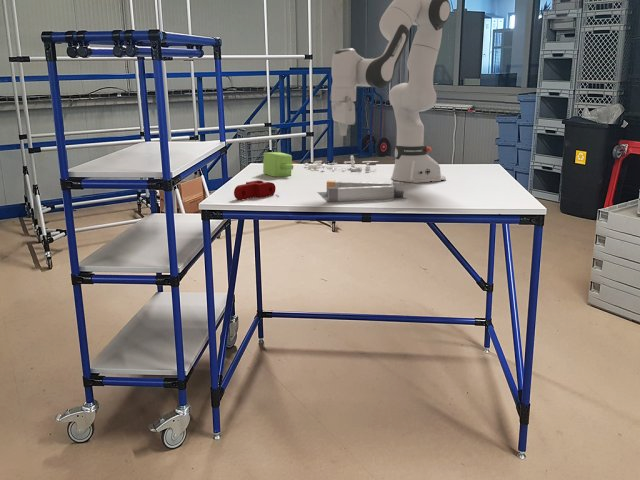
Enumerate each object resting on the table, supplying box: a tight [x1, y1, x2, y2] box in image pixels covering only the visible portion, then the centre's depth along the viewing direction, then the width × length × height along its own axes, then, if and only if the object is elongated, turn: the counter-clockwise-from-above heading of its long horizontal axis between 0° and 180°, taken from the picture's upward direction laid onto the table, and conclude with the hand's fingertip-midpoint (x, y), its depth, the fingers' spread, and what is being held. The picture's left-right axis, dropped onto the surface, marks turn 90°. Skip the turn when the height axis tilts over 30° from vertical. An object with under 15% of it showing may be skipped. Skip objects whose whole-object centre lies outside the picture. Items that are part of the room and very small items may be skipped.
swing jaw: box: [326, 180, 392, 193], centre depth 208 cm, size 23×3×4 cm, turn 80°
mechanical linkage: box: [233, 179, 276, 201], centre depth 210 cm, size 16×7×5 cm, turn 139°
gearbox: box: [262, 151, 294, 178], centre depth 255 cm, size 18×10×10 cm, turn 34°
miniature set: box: [304, 155, 379, 172], centre depth 269 cm, size 6×35×12 cm
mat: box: [316, 191, 407, 204], centre depth 207 cm, size 28×18×1 cm, turn 102°
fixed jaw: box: [327, 181, 405, 203], centre depth 201 cm, size 28×5×5 cm, turn 102°
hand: (343, 135), depth 211 cm, fingers closed
